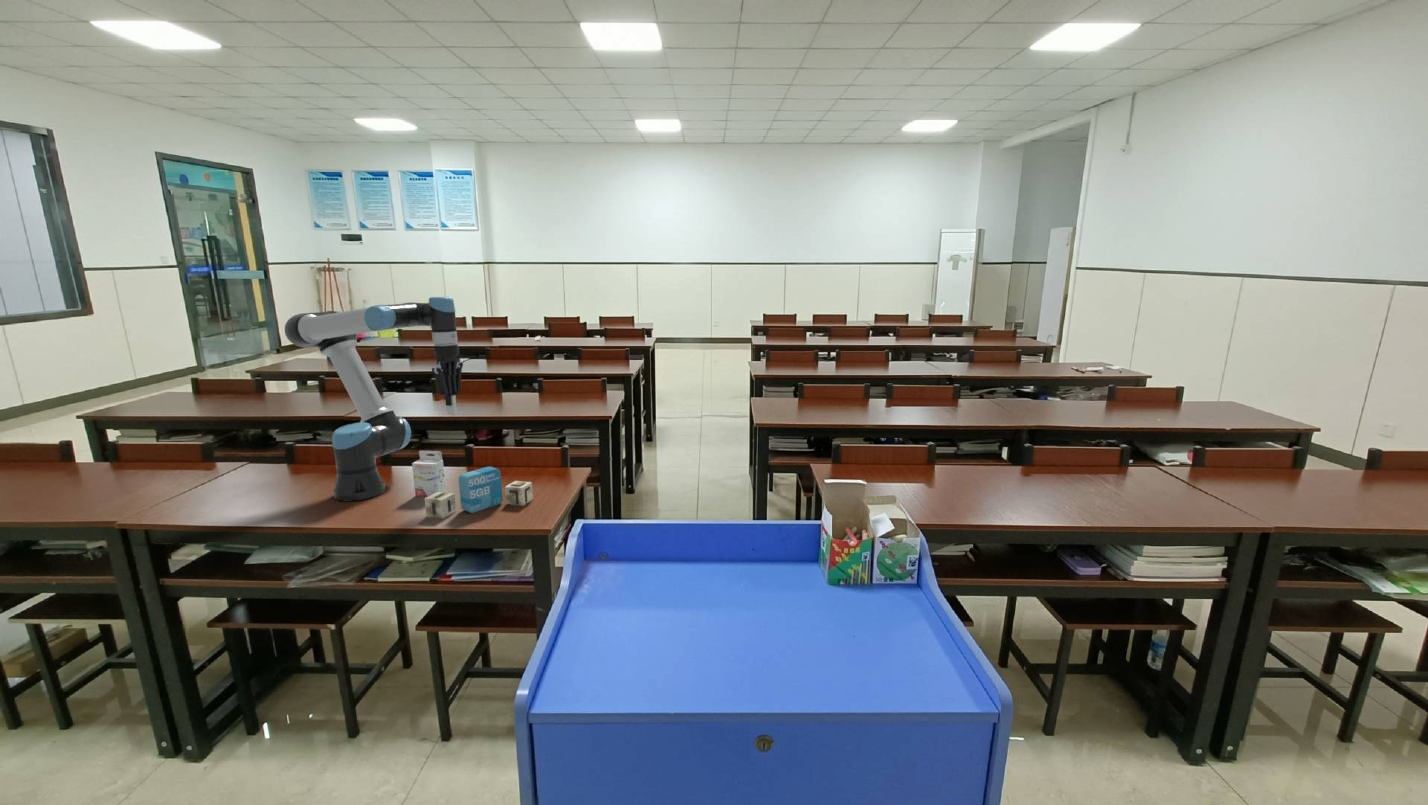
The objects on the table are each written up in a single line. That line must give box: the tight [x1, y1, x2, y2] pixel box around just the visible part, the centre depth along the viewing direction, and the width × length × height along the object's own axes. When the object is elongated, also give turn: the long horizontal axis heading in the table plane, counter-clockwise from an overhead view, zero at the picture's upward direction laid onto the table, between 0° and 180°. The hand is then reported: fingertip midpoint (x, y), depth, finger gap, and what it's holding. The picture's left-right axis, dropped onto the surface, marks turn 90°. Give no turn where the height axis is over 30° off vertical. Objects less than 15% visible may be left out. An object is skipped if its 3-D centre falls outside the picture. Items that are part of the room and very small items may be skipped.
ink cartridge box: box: [411, 450, 447, 498], centre depth 207 cm, size 9×5×15 cm, turn 84°
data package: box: [458, 466, 504, 514], centre depth 196 cm, size 12×4×12 cm, turn 141°
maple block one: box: [424, 492, 457, 520], centre depth 191 cm, size 6×6×6 cm
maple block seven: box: [504, 480, 534, 507], centre depth 201 cm, size 6×6×6 cm
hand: (452, 414), depth 208 cm, fingers closed
